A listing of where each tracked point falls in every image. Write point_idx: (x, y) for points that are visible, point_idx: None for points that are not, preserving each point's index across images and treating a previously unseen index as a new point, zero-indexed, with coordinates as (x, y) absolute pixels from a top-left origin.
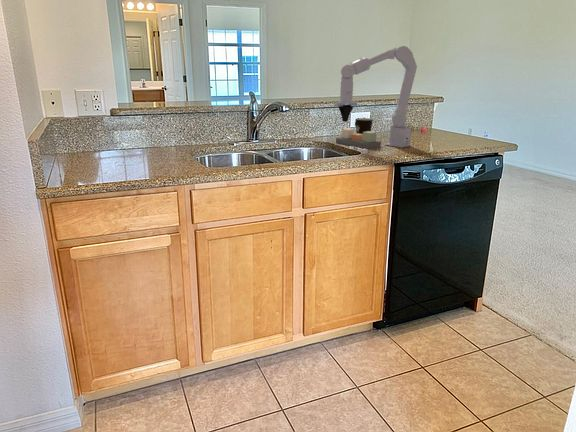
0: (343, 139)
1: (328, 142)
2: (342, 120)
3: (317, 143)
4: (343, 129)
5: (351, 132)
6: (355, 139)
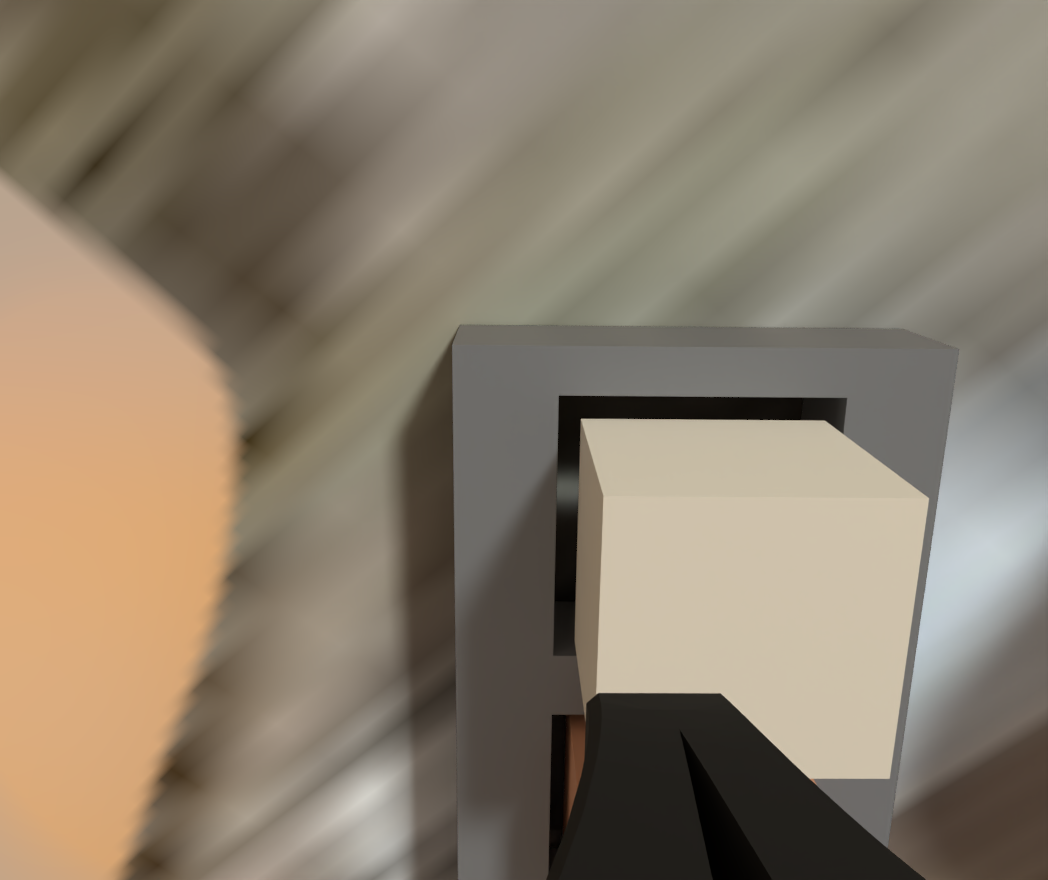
0: (456, 588)
1: (358, 164)
2: (588, 715)
3: (23, 79)
4: (598, 572)
5: None
6: None
